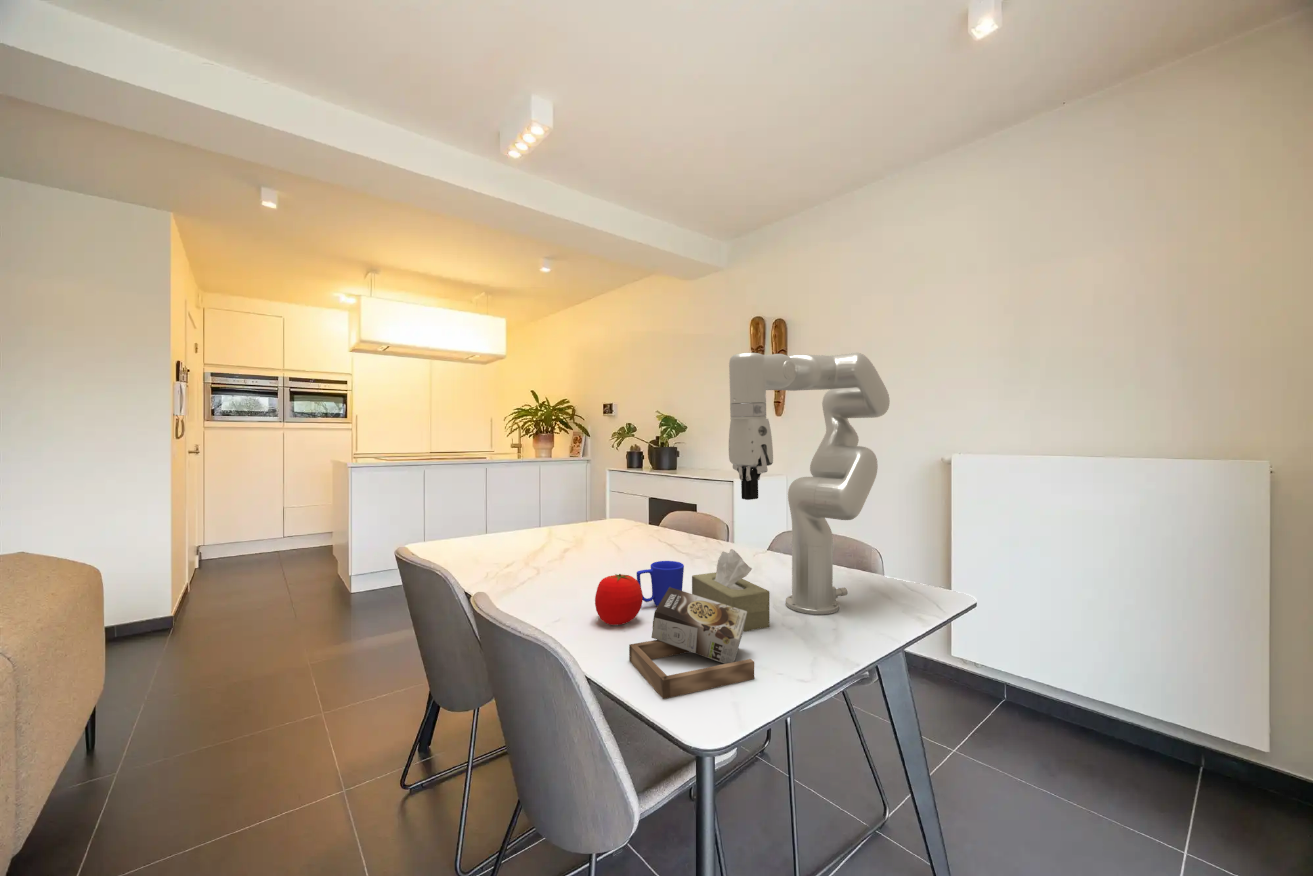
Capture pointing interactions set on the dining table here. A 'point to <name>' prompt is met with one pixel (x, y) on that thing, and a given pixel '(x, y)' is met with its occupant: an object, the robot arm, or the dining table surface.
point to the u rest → (687, 680)
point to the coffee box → (699, 625)
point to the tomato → (618, 599)
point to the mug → (663, 578)
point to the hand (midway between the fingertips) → (750, 498)
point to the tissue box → (735, 590)
